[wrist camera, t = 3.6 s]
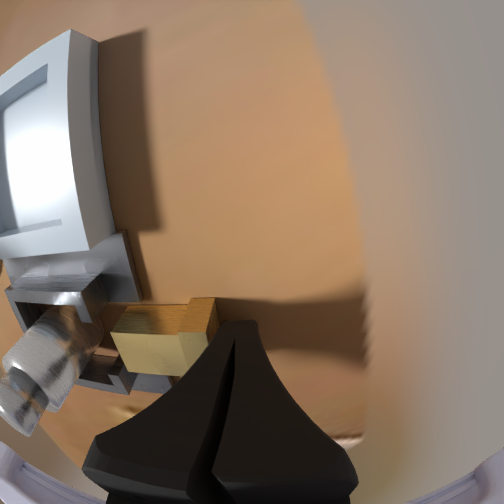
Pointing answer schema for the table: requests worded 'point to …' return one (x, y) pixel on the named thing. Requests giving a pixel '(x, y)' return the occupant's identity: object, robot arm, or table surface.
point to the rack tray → (52, 152)
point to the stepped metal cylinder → (46, 365)
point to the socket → (83, 302)
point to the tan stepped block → (165, 336)
